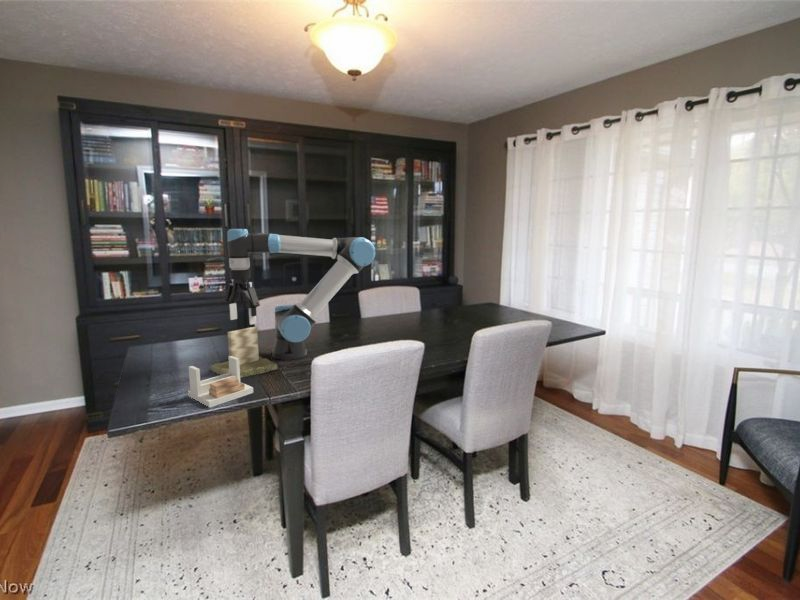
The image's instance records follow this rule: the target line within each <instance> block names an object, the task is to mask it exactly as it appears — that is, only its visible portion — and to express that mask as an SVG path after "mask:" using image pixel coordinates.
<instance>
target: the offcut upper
mask: <svg viewBox="0 0 800 600" xmlns="http://www.w3.org/2000/svg"><path fill="white" fill-rule="evenodd" d="M238 385H239V381H238V379H236V378H233V377H230V378H227V379H223V380H220V381H217V382H213V383H210V389H211V390H213V391H215V392H219V391H222V390H225V389H228V388H231V387H234V386H238Z"/></svg>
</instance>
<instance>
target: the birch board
mask: <svg viewBox="0 0 800 600" xmlns="http://www.w3.org/2000/svg"><path fill="white" fill-rule="evenodd" d="M258 334H259V333H258V326H252V327H251V326H250V327H246V328H241V329H236V330H231V331H227V341H228V342H227V343H228V344H227V346H228V357H229V356H233V357H236V358H239V364H240V365H243V364H246V363H250V362H254V361H257V360H259V356H260V355H259V337H258V336H259V335H258Z"/></svg>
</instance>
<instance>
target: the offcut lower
mask: <svg viewBox="0 0 800 600" xmlns="http://www.w3.org/2000/svg"><path fill="white" fill-rule="evenodd" d="M244 384H245V383H244ZM244 384H243V382H241V381H240V382H239V385H238V386H234V387H231V388H228V389H225V390H222V391H219V392H215V391H213V390H211V389H209V395H211V396H213V397H215V398H220V397H223V396H226V395H229V394H232V393H235V392H239V391H242V390H245V387H244Z"/></svg>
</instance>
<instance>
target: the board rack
mask: <svg viewBox="0 0 800 600" xmlns="http://www.w3.org/2000/svg"><path fill="white" fill-rule="evenodd" d="M228 361H229V373H227V374H223V375H216V376H214V377H213V376H212V377H210V378H207V379H203V380H201V369H200V368H198V367H196V366H194V365H191V366H188V376H189V377H188V379H189V390H188V391H187V397H188V396H189V397H188V398H190V397H191V398H190V399H192V398H193V399H195V400H197V401H199V402H200V403H199V402H198V403H199V404H201V403H202V405H203V404H204V406H205V405H206V406H205V407H207V406H208V408H212V407H216V406H219V405H221V404H224V403H227V402H230V401H233V400H236V399H240V398H242V397H245V396H248V395H251V394H253V393H254V387H253V386H250V385H249V384H246V383H243V382H242V383H243V384H244V387H245V390H242V391H239V392H235V393H232V394H229V395H226V396H223V397H220V398H215V397H213V396H211V395H209V389H210V383H213V382H217V381H220V380H223V379H227V378H230V377H233V378H236V379H238V381H239V382H241V378H240V364H239V358H236V357H233V356H229V355H228ZM193 399H192V400H193ZM195 400H194V401H195ZM197 401H196V402H197Z"/></svg>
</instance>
